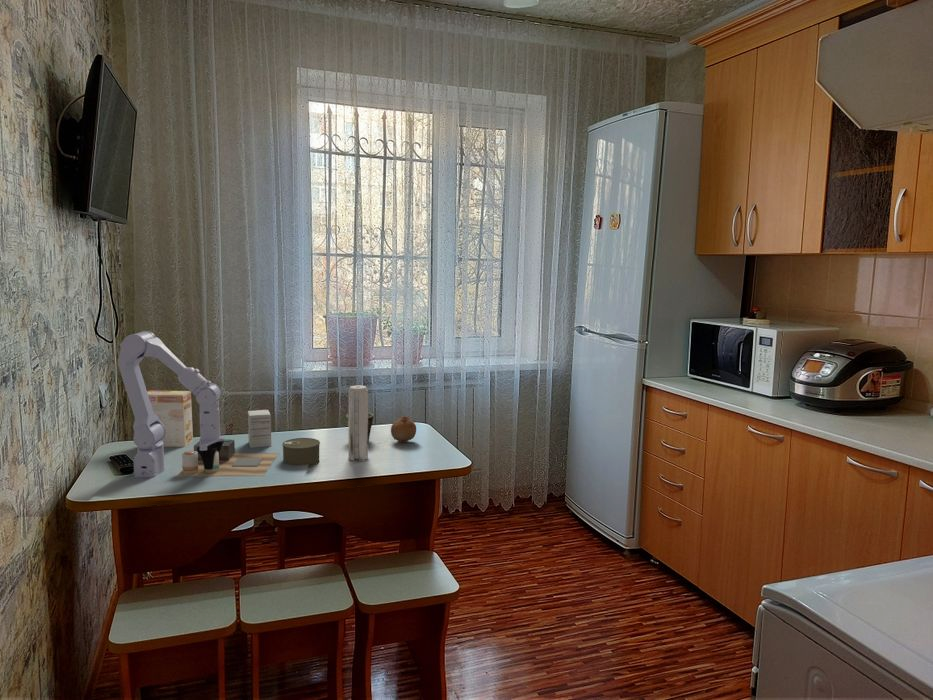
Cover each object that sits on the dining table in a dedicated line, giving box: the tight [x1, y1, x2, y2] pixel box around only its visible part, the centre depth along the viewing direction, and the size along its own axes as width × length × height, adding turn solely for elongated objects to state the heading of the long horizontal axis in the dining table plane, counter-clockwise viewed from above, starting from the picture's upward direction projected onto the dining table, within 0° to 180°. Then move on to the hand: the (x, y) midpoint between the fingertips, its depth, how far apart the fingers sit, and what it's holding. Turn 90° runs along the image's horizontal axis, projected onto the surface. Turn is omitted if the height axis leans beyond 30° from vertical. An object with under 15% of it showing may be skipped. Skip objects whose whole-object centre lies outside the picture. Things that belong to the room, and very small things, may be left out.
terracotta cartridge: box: [181, 450, 198, 474], centre depth 198 cm, size 4×4×6 cm
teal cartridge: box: [204, 450, 219, 473], centre depth 200 cm, size 4×4×6 cm
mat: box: [232, 458, 263, 466], centre depth 209 cm, size 8×8×1 cm
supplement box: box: [247, 409, 272, 449], centre depth 228 cm, size 7×7×13 cm
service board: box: [176, 452, 280, 477], centre depth 207 cm, size 23×26×1 cm
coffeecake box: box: [147, 389, 194, 448], centre depth 226 cm, size 15×7×20 cm, turn 89°
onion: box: [390, 415, 417, 443], centre depth 238 cm, size 10×9×10 cm
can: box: [282, 437, 321, 468], centre depth 212 cm, size 12×12×7 cm
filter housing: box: [193, 438, 236, 461], centre depth 213 cm, size 7×11×5 cm
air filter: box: [347, 385, 369, 462], centre depth 217 cm, size 6×6×25 cm
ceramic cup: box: [345, 412, 374, 443], centre depth 237 cm, size 13×10×10 cm
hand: (211, 466), depth 200 cm, fingers closed on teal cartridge, 4 cm apart
